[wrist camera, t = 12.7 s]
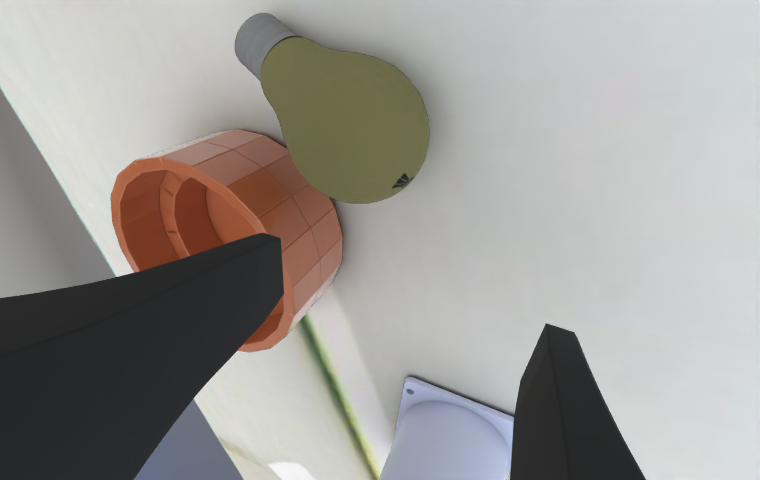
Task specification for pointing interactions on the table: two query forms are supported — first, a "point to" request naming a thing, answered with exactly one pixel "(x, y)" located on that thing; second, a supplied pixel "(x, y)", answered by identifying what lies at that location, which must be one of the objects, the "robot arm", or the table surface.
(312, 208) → the bowl
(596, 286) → the table surface
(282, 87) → the light bulb
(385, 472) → the robot arm
